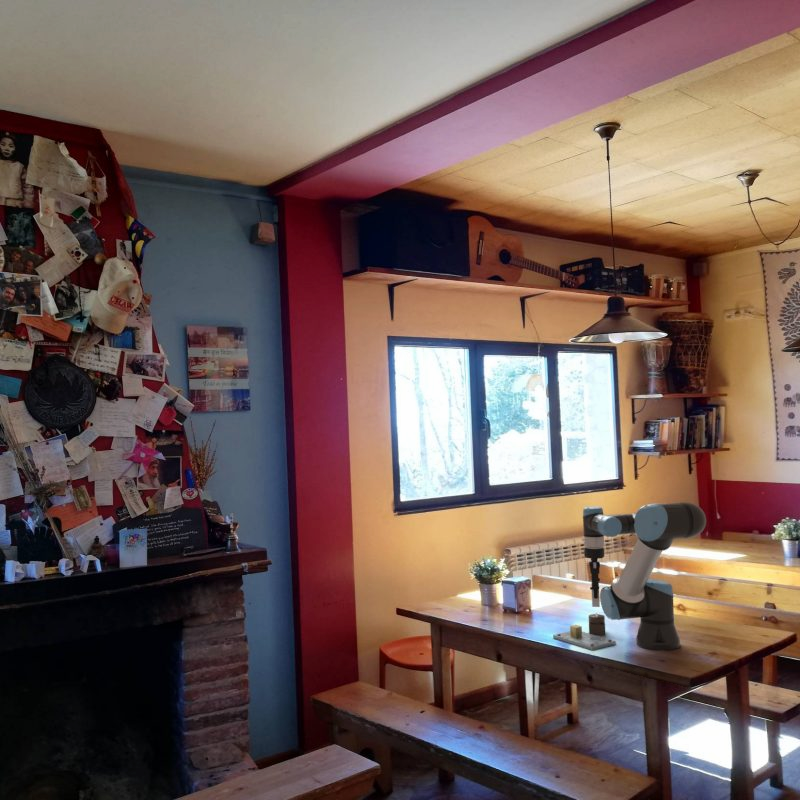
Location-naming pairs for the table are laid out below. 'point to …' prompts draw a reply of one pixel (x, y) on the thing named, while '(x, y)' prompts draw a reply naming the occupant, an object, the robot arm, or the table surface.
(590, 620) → the brown block
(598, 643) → the plate
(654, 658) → the table surface
